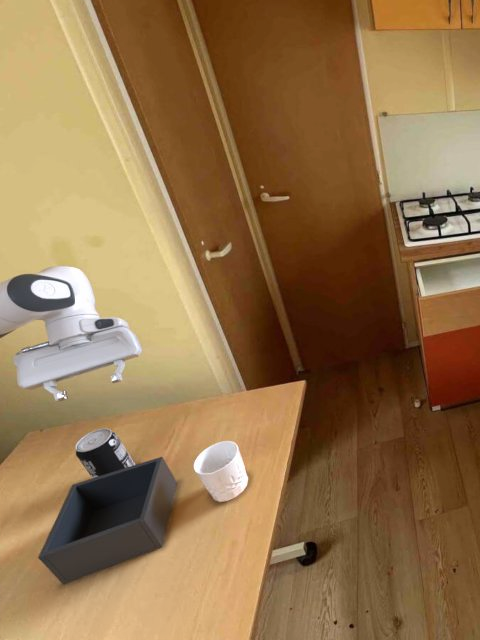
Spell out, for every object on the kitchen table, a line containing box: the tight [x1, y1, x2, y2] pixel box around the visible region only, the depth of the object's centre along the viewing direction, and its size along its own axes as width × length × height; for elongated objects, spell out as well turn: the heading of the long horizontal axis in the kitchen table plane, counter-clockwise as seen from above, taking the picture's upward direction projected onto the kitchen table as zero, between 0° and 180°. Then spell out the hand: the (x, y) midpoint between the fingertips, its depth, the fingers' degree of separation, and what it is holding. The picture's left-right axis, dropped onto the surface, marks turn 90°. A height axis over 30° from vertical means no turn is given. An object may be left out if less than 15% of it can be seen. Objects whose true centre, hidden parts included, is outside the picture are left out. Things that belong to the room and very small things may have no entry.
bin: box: [37, 456, 178, 585], centre depth 82 cm, size 15×15×9 cm
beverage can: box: [74, 427, 136, 479], centre depth 91 cm, size 7×7×12 cm
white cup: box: [192, 440, 249, 503], centre depth 90 cm, size 8×8×10 cm
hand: (90, 390), depth 94 cm, fingers open, 8 cm apart
